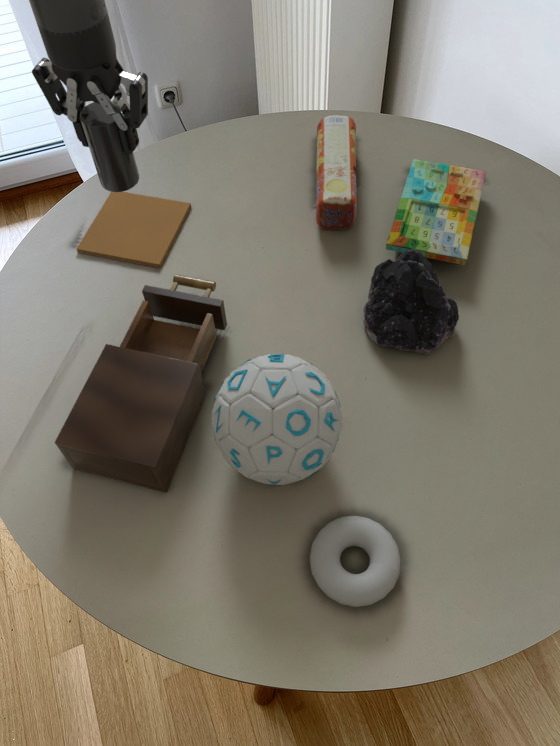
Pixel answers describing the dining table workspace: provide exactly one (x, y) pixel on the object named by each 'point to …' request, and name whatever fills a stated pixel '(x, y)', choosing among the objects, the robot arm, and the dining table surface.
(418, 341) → the crystal cluster
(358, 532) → the donut
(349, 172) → the snack package
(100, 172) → the dark grey cylinder
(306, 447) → the puzzle ball
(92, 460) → the cabinet
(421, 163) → the puzzle game
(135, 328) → the drawer
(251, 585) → the dining table surface
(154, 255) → the cork mat
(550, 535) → the dining table surface
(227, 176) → the dining table surface
